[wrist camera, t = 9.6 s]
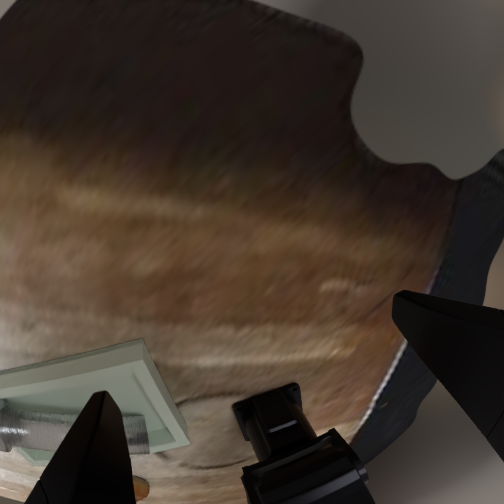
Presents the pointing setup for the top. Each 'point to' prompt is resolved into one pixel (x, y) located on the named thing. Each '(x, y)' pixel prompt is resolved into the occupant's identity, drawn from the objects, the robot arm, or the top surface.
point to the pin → (57, 430)
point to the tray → (93, 380)
